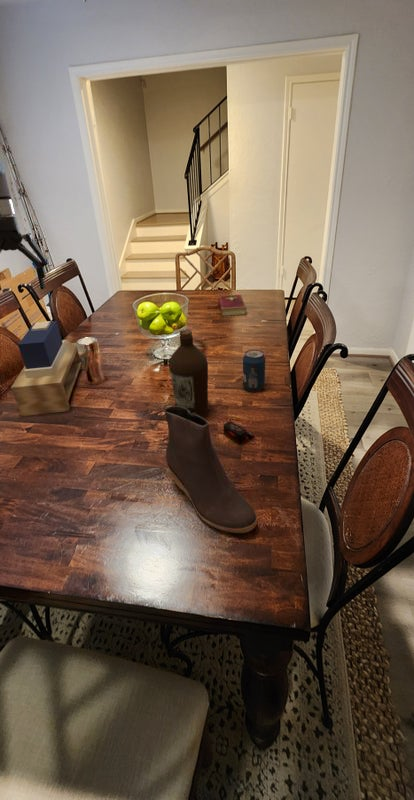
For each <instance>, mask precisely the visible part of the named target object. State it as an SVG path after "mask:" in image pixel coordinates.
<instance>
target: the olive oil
mask: <svg viewBox="0 0 414 800" xmlns="http://www.w3.org/2000/svg"><path fill="white" fill-rule="evenodd" d="M179 335H180V336H179V342H180V343H179V346H178V347H177V348H176V350H175V351H174V352H173V353H171V354H172V355H171V356H170V359H169V363H168V364H169V365H168V368H169V376H170V380H171V386H172V392H173V393H172V394H173V398H174V406H181V407H184V408H186V409H188V410H189V411H190V412H191V414H192V413H195V414H196V415H199V416H200V417H202V418H204V417H205V416H206V415H207V414H208V412H209V380H208V379H209V361H208V359H207V356H206V353H204V352H203V351H202V350H201V349H199V348H198V347H197V346H196V345H195V344H194V337H193V336H194V335H193V331H192V330H191V329H186V328H185V329H182V330H179Z"/></svg>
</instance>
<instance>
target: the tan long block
mask: <svg viewBox="0 0 414 800" xmlns="http://www.w3.org/2000/svg"><path fill="white" fill-rule="evenodd" d="M66 343H67V342H66ZM25 369H26V367H25V365H24V367H23V368H22V369H21V371H20V372H19V374H18V376H17V377H16V379H15V381H14V382H13V384H12V385H11V386H10V389H11V393H12V394H13V397H14V400H15V403H16V405H17V407H18V410H19V413H20V416H21V417H28V416H36V415H37V416H38V415H46V414H53V413H62V412H69V411H70V409H71V406H70V403H69V400H70V397H71V394H72V392H73V389H74V386H75V383H76V381H77V377H78V375H79V372H80V371H81V370H82V371H83V370H84V367H83V365H82V363H81V360H80V357H79V354H78V349H77V343H76V342H69V343H67V348H66V350H65V353H64V355H63V357H62V359H61V361H60V363H59V365H58V368H57V370H56V372H55V374H54V375H53V376H43V377H33V378H26V375H25V372H24V370H25Z"/></svg>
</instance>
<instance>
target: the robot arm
mask: <svg viewBox="0 0 414 800" xmlns="http://www.w3.org/2000/svg"><path fill="white" fill-rule="evenodd" d="M14 207H15V206H14V204H13V199H12V196H11V192H10V188H9V184H8V178H7V173H6V171H5V168H4V165H3V161H2V158H1V157H0V254H1V253H2V252H3V251H4V252H5V251H6V252H7V251H17V250H18V251H19V252H20V253H22V254H23V255H24V256H25V257H26V258H27V259H28V260H30V261H31V262H32V263H33V264H34V265H35V266H36V267H35V271H36V275H37V279H38V283H39V287H40V290H44V289H45V288H46V285H45V281H44V279H45V278H46V276H47V275H46V270H45V267H46V266H48V265H49V264H50V261H49V260H48V258H47V257H46V256H45V254H44V253H43V251H42V250H41V248H39V246H38V244H37V243H36V242H35V241H34V237H33V235H32V233H30V232H28V233H24V234H22V233H21V231H20V227H19V223H18V219H17V217H16V216H15V214H16V211H15V208H14ZM23 240H24V242H26V243H27V244H28V245H29V247H30V248H31V249H32V251H33V252H34V253H35V254H33V253H32V252H31V251H30V250H29V249H28V248H27V247H26V245H24V244H23V243H22V242H23ZM35 255H36V256H35ZM1 291H2V287H1V285H0V292H1Z"/></svg>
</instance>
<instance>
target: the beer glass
mask: <svg viewBox="0 0 414 800" xmlns="http://www.w3.org/2000/svg"><path fill="white" fill-rule="evenodd" d="M75 343H77V349H78V354H79V357H80V360H81V363H82V365H83V367H84V368H83V370H84V372H85V375H86V383H87V385H90V386H96V385H97V386H98V385H100V384H103V383H104V382H105V381H106V377H105V375H104V372H103V370H102V354H101V349H100V345H99V341H98V338H97V337H95V336H87V337H86V336H85V337H82V338H79V339H78V340H76V342H75Z"/></svg>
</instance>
